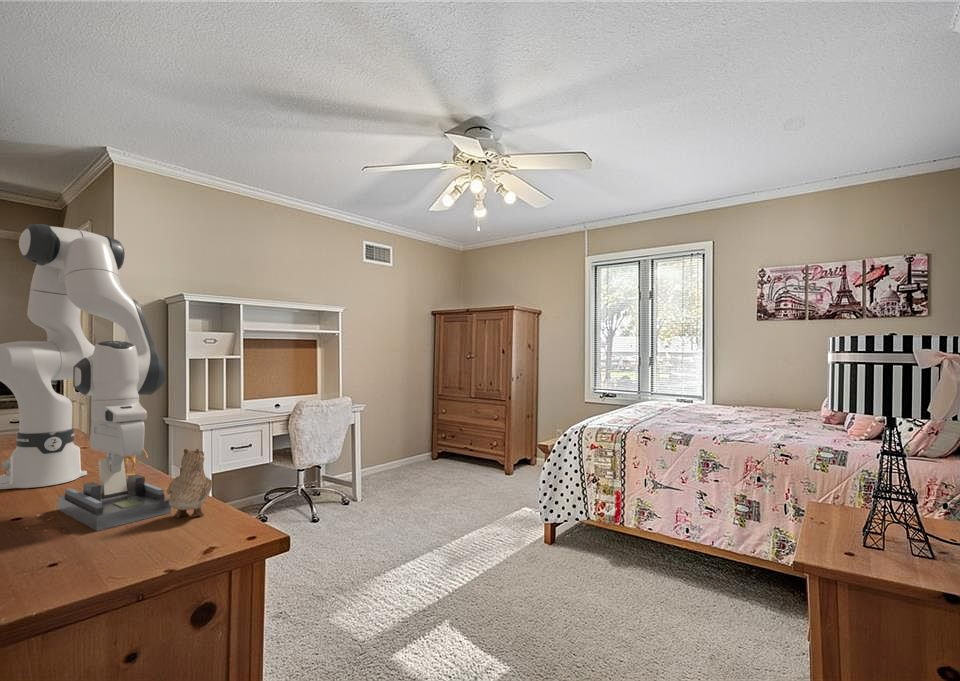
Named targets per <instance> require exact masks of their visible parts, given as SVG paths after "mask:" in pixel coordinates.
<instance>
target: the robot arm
mask: <svg viewBox="0 0 960 681" xmlns="http://www.w3.org/2000/svg"><path fill="white" fill-rule="evenodd" d="M18 247H19V252H20V254H21V256H22V258H24V260H25V261H27V262H29V263H31V264H34V265H35V267H34V271H33V274H32V278H31V282H30V289H29V297H28V303H27V304H28V305H27V310H26V311H27V313H26V314H27V317H28V319H29V320H30V322H32V323H33V324H34V325H36V326H38V327H39V328H42V329H43V330H45V332H46V338H47V339H46V341H42V340H41V341H39V340H38V341H37V340H33V341H32V340H19V341H10V342H4V343H0V382H1V383H3V384H4V385H5V386H6V387H7V388H8V389H9V390H10V391H11V392H12V394H13V395H14V397H15V399H16V401H17V406H18V419H19V422H18V425H19V426H18V427H19V431H18V432H17V434H16V437H15V441H16V442H15V446H16V447H15V449H14V450H13V452H12V453H11V455H10V457H9V459H5V460H3V461H1V470H3V471H5V472H4V474H0V490H7V489H9V490H10V489H29V488H30V489H31V488H42V487H48V486H55V485H60V484H64V483H68V482H71V481H74V480H77V479H78V478H81V477H84V476H87V475H88V471H87V470H82V466H81V464H82V462H81V448H80V447H79V446H78V445H76V444H75V443H74V441H75V428H73V402H72V401H71V399H69V398H68V397H67V396H66V395H63V394H60V393H58V392H56V391H55V390H54V388H53V385H52V381H63V380H64V381H66V380H67V381H68V380H72V382H73V383H72V384H73V385H72V386H73V388H74V389H75V390H76V391H78V392H79V393H80V394H82V395H83V396H89V397H91V402H90V404H91V406H90V412H91V413H90V416H91V417H90V419H91V420H90V421H91V423H90V434H89V445H90V448H91V449H92V450H96V451H99V452H104V453H106V456H105V457H106V459H107V460H108V464H109V471H110V472H113V473H116V472H120V471H121V464H122V461H123V459H124V456H126V457H127V456H134V455H135V456H138V455H141V454H142V453H143V451H142V450H143V449H144V446H145V431H146V430H145V429H146V428H145V427H146V426H145V422H144V421H145V420H147V418H148V412H147V410H146V409H145V408H144V407H143V406H142V405H141V403H140V395H141V396H151V395H152V394H154V393H156V392H157V391H159V390H160V389H161V388H162V386H164V384H165V383H166V377H167V374H166V373H167V372H166V368H165V365H164V363H163V361H162V359H161V357H160V356H159V353H158V350H157V349H156V346H155V343H154V341H153V337H152V335H151V332H150V329H149V326H148V324H147V320H146V318H145V315H144V313H143V310H142V309H141V306H140V303H138V301H137V300H135V299H134V298H132V297H131V296H129V294H128V293H127V292H126V291H125V289H124V288H123V286H122V283H121V281H120V273H119V270H120V269H121V268H122V266H123V265H124V261H125V247H124V246H123V244H122V243H121V242H120V241H119V240H117V239H116V238H113V237H110V236H108V235H100V234H98V233H94V232H92V231H91V232H90V231H86V230H83V229H73V228H69V227H68V228H67V227H59V226H50V225H49V224H43V223H41V224H40V223H35V224H34V223H33V224H32V223H31V224H29V225H28V226H26V227H25V228H24V229H23V230H22V232H21V234H20V235H19V240H18ZM81 311H83V312H85V313H87V314H90V315H92V316H96V317H99V318H102V319H106V320H108V321H110V322H112V323H114V324H117V325H119V326H120V327H121V328H122V329H123V330H124V331H125V332H126V335H127V338H128V341H129V342H127V341H120V340H105V341H100V342H97V343H95V345H93V344H92V343H91V342H90V341H89V340H88V339H87V338H86V336H85V333H84V331H83V328H82V324H81V314H82V313H81Z"/></svg>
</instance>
